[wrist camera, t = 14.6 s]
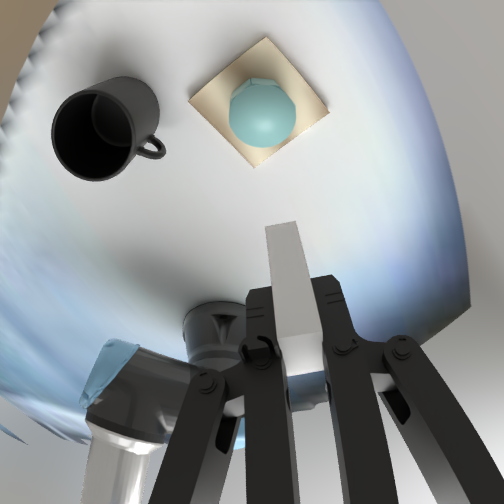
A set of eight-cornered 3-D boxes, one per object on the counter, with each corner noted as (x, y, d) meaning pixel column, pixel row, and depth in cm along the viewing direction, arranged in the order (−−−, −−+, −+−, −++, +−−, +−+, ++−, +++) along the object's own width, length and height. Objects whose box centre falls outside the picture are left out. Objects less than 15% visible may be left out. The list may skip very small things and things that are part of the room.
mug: (156, 171, 36) (135, 208, 29) (79, 130, 31) (41, 158, 24) (194, 108, 31) (178, 130, 24) (108, 64, 27) (69, 75, 20)
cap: (284, 132, 32) (291, 150, 27) (230, 128, 32) (227, 145, 27) (290, 81, 28) (300, 89, 24) (233, 76, 28) (230, 83, 23)
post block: (253, 164, 36) (254, 184, 32) (189, 99, 30) (179, 109, 26) (327, 110, 31) (340, 122, 27) (265, 36, 26) (269, 35, 22)
